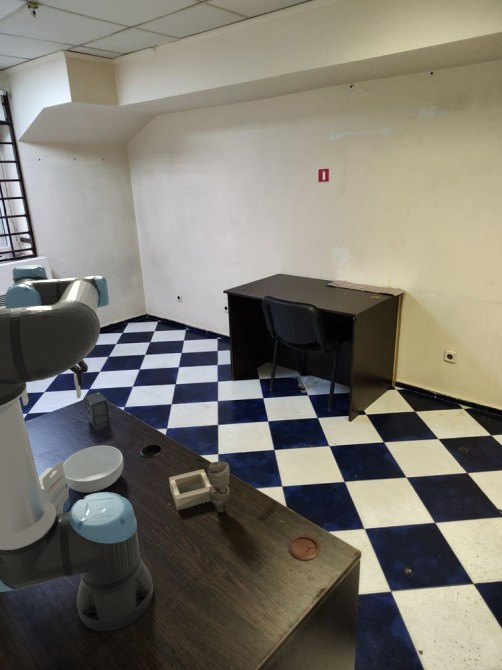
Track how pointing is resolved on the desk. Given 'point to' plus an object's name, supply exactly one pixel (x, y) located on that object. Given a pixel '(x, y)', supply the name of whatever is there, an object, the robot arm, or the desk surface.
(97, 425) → the box
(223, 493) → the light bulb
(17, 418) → the robot arm
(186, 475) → the wooden square frame
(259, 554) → the desk surface
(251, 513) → the desk surface
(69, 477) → the cereal bowl
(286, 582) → the desk surface
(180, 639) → the desk surface
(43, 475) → the ink box
